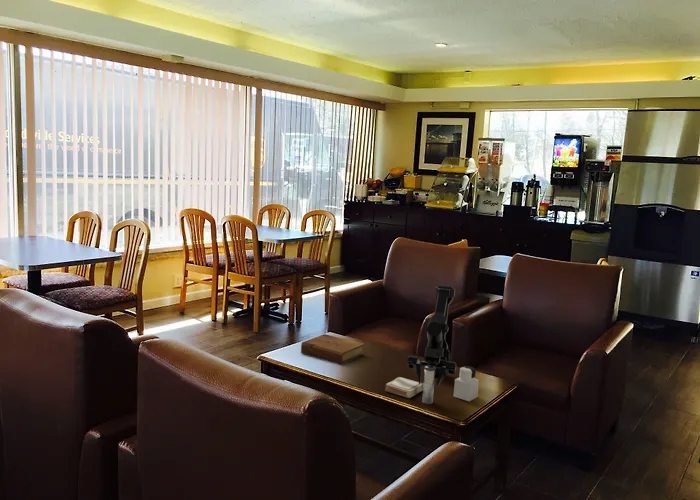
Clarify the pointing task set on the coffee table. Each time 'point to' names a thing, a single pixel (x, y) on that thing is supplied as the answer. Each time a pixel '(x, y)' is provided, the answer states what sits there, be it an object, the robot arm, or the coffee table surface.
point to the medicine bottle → (466, 384)
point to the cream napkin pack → (404, 387)
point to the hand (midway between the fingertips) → (428, 385)
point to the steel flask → (428, 384)
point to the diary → (332, 348)
